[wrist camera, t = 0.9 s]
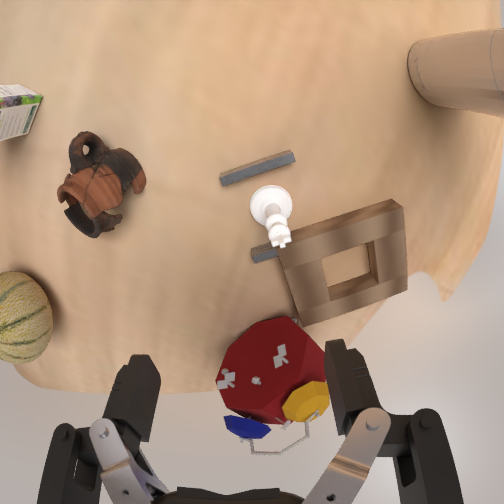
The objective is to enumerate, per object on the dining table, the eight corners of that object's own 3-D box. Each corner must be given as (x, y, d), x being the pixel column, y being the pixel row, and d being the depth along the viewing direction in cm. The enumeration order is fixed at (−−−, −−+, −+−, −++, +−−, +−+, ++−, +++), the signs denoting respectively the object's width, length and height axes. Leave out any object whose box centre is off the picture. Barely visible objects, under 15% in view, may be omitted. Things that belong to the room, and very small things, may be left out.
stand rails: (289, 149, 29) (292, 152, 28) (315, 235, 34) (319, 242, 33) (220, 173, 30) (219, 177, 29) (254, 255, 35) (254, 263, 34)
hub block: (391, 198, 32) (402, 207, 30) (398, 278, 38) (407, 289, 36) (273, 237, 34) (276, 249, 32) (299, 313, 40) (303, 327, 38)
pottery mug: (161, 203, 32) (117, 250, 27) (113, 199, 36) (74, 238, 31) (128, 110, 24) (66, 149, 19) (81, 123, 28) (30, 158, 22)
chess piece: (243, 192, 32) (244, 228, 23) (285, 179, 31) (303, 210, 22) (257, 230, 34) (262, 276, 25) (296, 217, 33) (316, 260, 24)
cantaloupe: (52, 334, 42) (20, 393, 29) (0, 285, 37) (-41, 335, 24) (79, 298, 38) (37, 368, 25) (17, 237, 32) (-41, 291, 19)
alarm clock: (241, 362, 45) (244, 472, 28) (207, 334, 42) (195, 455, 24) (318, 322, 41) (352, 439, 24) (288, 286, 38) (319, 419, 20)
